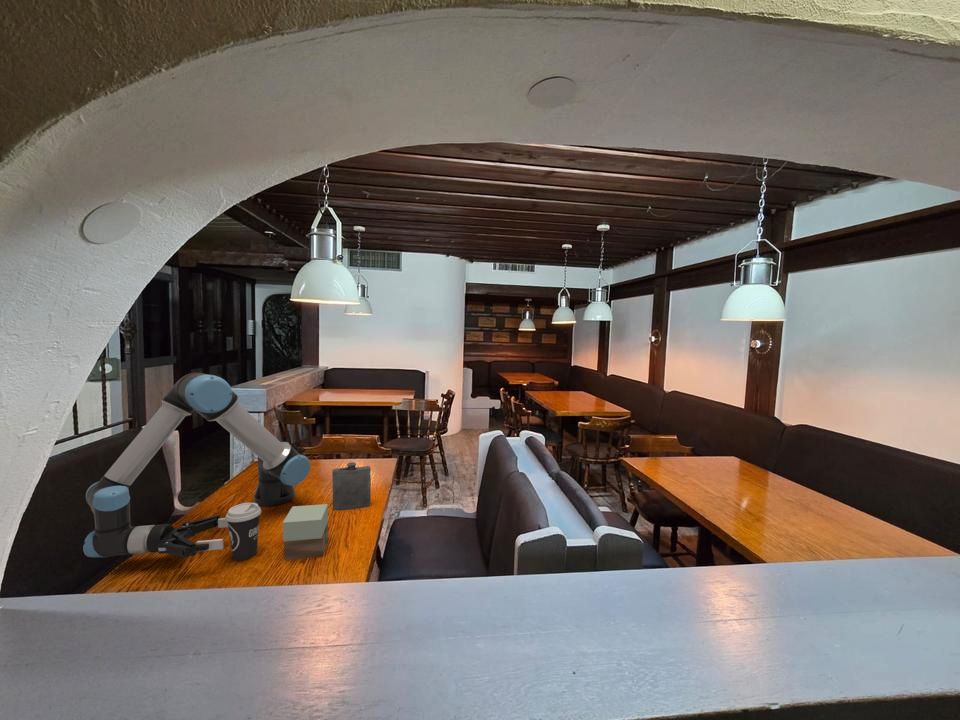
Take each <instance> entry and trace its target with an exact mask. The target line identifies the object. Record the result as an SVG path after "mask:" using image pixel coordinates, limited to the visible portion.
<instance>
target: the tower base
mask: <svg viewBox="0 0 960 720" xmlns="http://www.w3.org/2000/svg"><path fill="white" fill-rule="evenodd" d="M328 540H329V521H328V522H327V525H326V528H325V530H324V533H323V536H322V538H320V539H308V540H296V541H285V542H283V544H284V546H283V550H284V551H283V552H284V553H283V554H284V555H283V556H284V557H283V558H284V560H286V561H293V559H295V560H302V559H303V560H304V559H312V558H313V559H314V558H321V557H324V554H325V550H326V548H327V545H326V544H328Z"/></svg>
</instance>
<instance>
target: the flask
mask: <svg viewBox="0 0 960 720" xmlns="http://www.w3.org/2000/svg"><path fill="white" fill-rule="evenodd" d="M346 465H347V467H346V466H345V467H340V468H339V467H338V468H337V467H336V468H333V469H332V472H331V473H332V510H333V509H334V510H333V511H344V510H356V509H357V510H358V509H363V508H369V507H371V506H372V505H371V502H372V498H371V497H372V495H371V494H372V493H371V491H372V490H371V485H372V484H371V470H372V469H371V466H369V465H364V466H356V465H357V463H356V462H348V463H347V464H346Z"/></svg>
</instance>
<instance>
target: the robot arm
mask: <svg viewBox="0 0 960 720" xmlns="http://www.w3.org/2000/svg"><path fill="white" fill-rule="evenodd" d="M194 411H195V412H197V414H199V415H200V416H201V417H202V418H204V419H205V420H206V421H208V422H215V421H216V422H217V424H219V425H220V426H221V427H222V428H223V429H225V430H226V431H227V432H228V433H230V435H232V436H233V437H234V438H235V439H236V440H237V441H239V442H240V443H241V444H243V446H245V447H246V448H247V449H249V451H250V452H252V453H253V454H254V455H255V456H257V477H258V479H257V480H258V482H257V486H256V489H255V491H254V495H253V503H256V504H258V506H259V507H274V506H278V505H282V504H285V503H287V502H290V501H292V500H293V499H295V496H296V490H295V486H296V485H299V484H301V483H302V482H304V480H306V478H308V475H309V473H310V472H311V461H310V459H309V458H308V457H307V456H306V455H304V454H301V453H299V451H297V450H296V449H295V448H294V447H293V446H292V445H290V443H289V442H288V441H280V440H279V439H278V438H277V437H276V436H275V435H274V434H273V433H271V432H270V431H269V430H268V429H267V428H266V427H265V426H264V425H263V424H262V423H260V422H259V420H257V419H256V418H255V417H254V416H253V415H252V414H251V413H250V412H249V411H247V410H246V409H245V407H243V406H242V405H241V404H240V403H239V396H238V394H236V393H235V392H234V391H233V390H232V387H231V385H230V384H229V383H228V382H227V381H226V380H225V379H224V378H222V377H220V376H217V375H214V374H207V373H203V372H192V373H187V374H186V375H184V376H182V377H181V378H180V379H178V380H177V381H176V382H175V384H174V385H173V386H172V387H171V389H170V390H169V391H168V392H167V393H166V395H165V396H164V397H163V398H162V399H161V406H160V407H159V409H158V410H157V411H156V412H155V414H154V415H153V416H152V417H150V419H149V420H148V421H147V423H146V424H145V425H144V427H143V428H142V429H141V430H140V431H139V433H137V435H136V437H134V439H133V440H132V441H131V442H130V444H128V446H126V448H125V449H124V451H123V452H122V453H121V454H120V456H119V457H118V458H117V459H116V461H114V463H113V464H112V465H111V467H110V468H109V469H108V470H107V472H105V474H104V475H103V476H101V479H99V481H97V482H94V483H93V484H91V485H90V486H88V488H87V490H86V492H85V501H86V504H87V505H88V506H89V507H90V509H91V512H92V513H93V519H94V527H95V528H94V530H93V531H91V532H89V533H88V535H87V536H86V537H85V539H84V544H83V546H82V550H83V553H84V555H85V556H86V557H88V558H109V557H115V556H116V557H117V556H126V555H138V554H140V555H144V554H147V553H158V554H160V555H161V554H163V555H164V554H168V555H172V556H178V557H182V558H189V557H195V556H196V555H197V552H207V551H216V550H219V551H220V550H223V549H224V538H218V539H217V538H216V539H209V540H208V539H206V540H197V541H196V542H193V541H191V540H189V539H190V538H193V537H194V536H196V535H197V534H199V533H200V534H201V533H202V532H205V531H209V530H211V529H215V528H218V529H221V528H228V522H227V521H226V519H225V517H223V518H221V515H220V514H217V515H214V516H209V517H204V518H201V519H197V520H196V519H195V520H192V521H185V522H181V526H180V527H176V528H175V527H173V525H172V524H169V523H164V524H156V525H155V524H151V525H150V524H149V525H138V526H132V523H131V522H132V520H131V502H130V500H131V496H130V490H129V489H130V487H131V485H133V483H134V481H135V480H136V479H137V478H138V476H139V475H140V474H141V473H142V472H143V470H145V468H146V466H147V465H148V464H149V463H150V461H151V460H152V459H153V458H154V456H155V455H156V454H157V453H158V451H159V450H160V449H161V448H162V446H163V445H164V444H165V443H166V441H167V440H168V439H169V437H170V436H172V434H173V432H174V431H175V430H176V428H177V427H179V425H180V424H181V423H182V421H183V420H184V419H185V417H188V416H192V414H193V413H194ZM291 499H292V500H291Z"/></svg>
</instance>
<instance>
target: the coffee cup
mask: <svg viewBox="0 0 960 720" xmlns="http://www.w3.org/2000/svg"><path fill="white" fill-rule="evenodd" d="M261 513H262V509H261V506H259V505H258V504H256V503H254V502H242V503H240V504H239V503H238V504H236V505H234V506H232V507H230V508H229V509H228V511H227V513H226V515H225V517H224V518H225V519H226V521H227V522H228V527H227V528H228V533H229V541H230V542H229V543H230V550H231V554H232V555H231V556H232V560H234V561H236V562H237V561H239V562H240V561H242V562H243V561H246V560H249V559H251V558H253V557H255V556H256V555H257V552H258V541H259V540H258V539H259V526H260V515H261Z"/></svg>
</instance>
